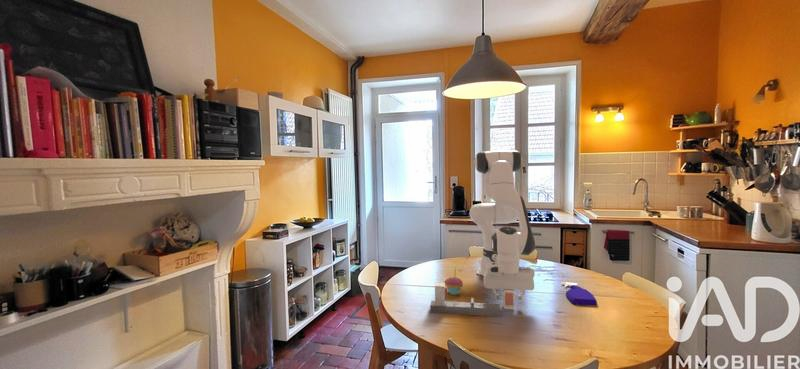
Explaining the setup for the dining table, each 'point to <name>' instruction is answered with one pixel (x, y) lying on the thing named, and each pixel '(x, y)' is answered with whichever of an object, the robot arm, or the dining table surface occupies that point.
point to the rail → (461, 305)
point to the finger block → (508, 299)
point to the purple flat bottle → (579, 295)
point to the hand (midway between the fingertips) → (508, 299)
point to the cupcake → (453, 284)
